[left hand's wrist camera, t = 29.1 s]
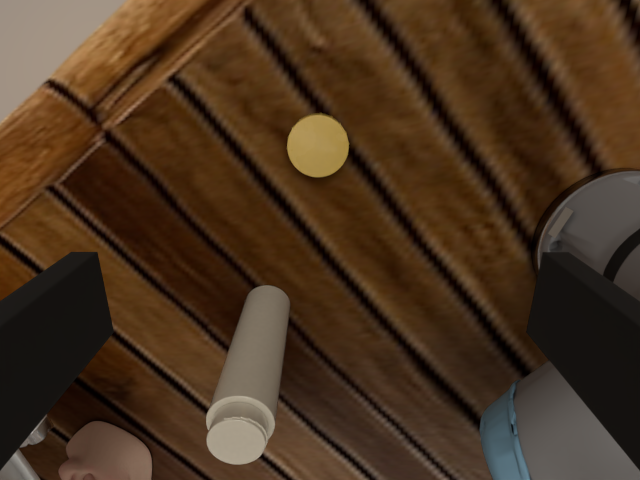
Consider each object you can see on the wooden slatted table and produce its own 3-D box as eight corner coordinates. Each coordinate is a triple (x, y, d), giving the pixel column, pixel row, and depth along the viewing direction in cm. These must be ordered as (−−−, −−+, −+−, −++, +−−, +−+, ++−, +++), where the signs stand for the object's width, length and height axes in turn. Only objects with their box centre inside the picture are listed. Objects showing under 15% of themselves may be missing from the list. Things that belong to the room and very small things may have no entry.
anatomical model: (55, 438, 48) (154, 465, 49) (74, 412, 51) (166, 438, 53) (39, 514, 52) (131, 536, 54) (58, 485, 56) (143, 507, 57)
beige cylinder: (294, 320, 47) (279, 464, 29) (251, 328, 47) (211, 474, 30) (284, 281, 45) (262, 409, 28) (239, 289, 46) (189, 421, 28)
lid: (310, 99, 39) (310, 100, 37) (360, 137, 40) (362, 140, 38) (276, 150, 40) (274, 154, 38) (325, 184, 42) (325, 189, 40)
